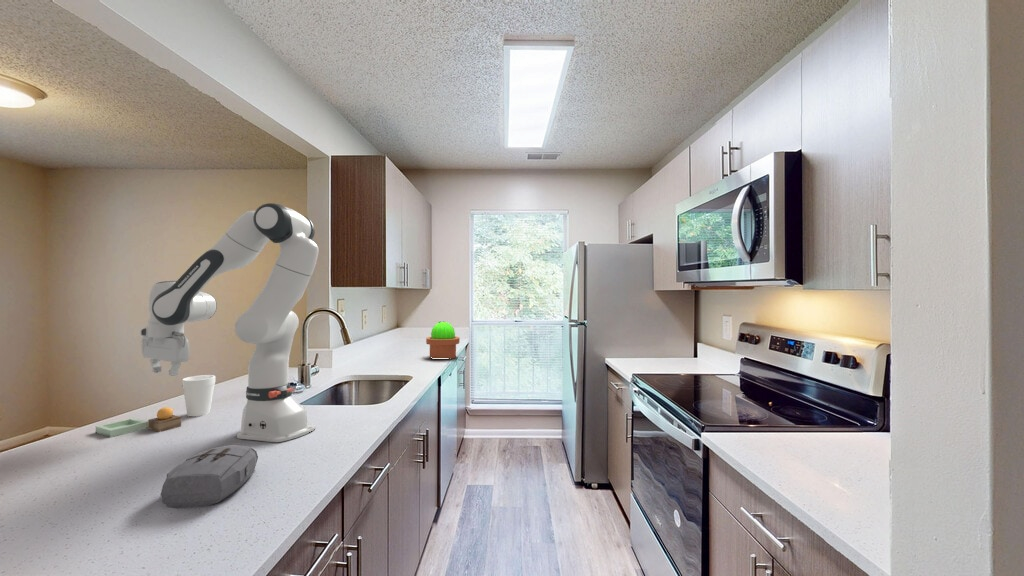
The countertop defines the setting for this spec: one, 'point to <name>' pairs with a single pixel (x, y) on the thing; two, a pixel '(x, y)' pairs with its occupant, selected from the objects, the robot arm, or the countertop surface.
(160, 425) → the brown wooden box
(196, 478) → the small grey backpack
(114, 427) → the tray
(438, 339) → the potted cactus
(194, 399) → the foam cup
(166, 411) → the ball
